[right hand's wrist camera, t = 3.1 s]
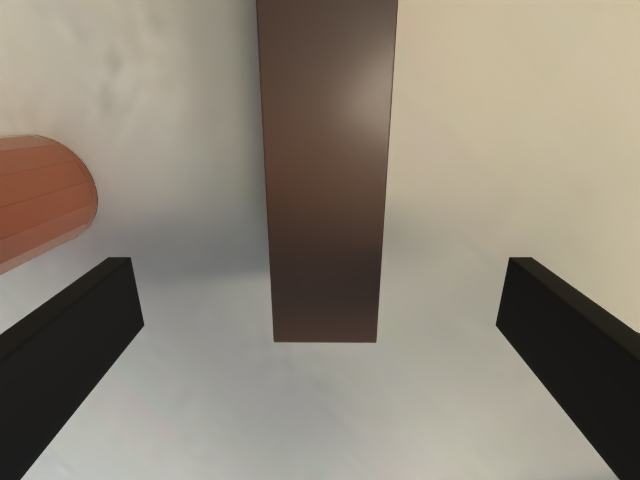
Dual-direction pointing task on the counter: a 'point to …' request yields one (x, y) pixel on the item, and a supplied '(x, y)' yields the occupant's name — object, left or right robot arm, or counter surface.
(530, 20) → the counter surface
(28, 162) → the terracotta cup
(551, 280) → the right robot arm
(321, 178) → the walnut box
